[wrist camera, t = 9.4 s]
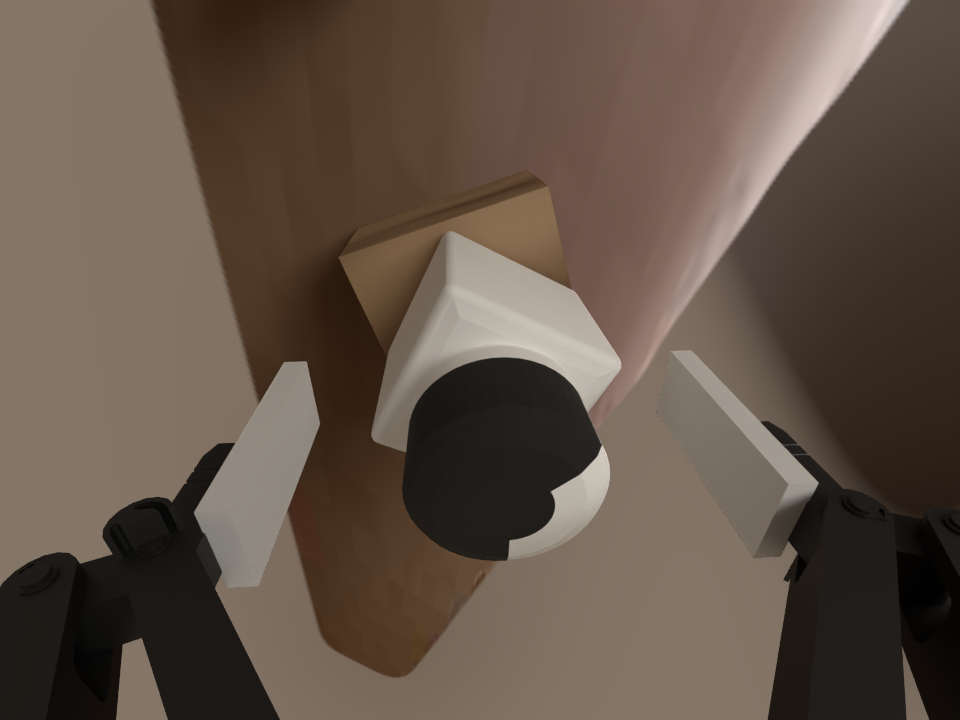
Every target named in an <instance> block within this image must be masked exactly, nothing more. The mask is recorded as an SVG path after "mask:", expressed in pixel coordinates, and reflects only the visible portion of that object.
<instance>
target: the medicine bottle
mask: <svg viewBox="0 0 960 720" xmlns="http://www.w3.org/2000/svg"><path fill="white" fill-rule="evenodd" d="M620 369H621V361H620V359H619V357H618V356H617V354H616V353H615V351H614V350H613V348H612V347H611V345H610V344H609V342H608V341H607V339H606V338H605V336H604V334H603V333H602V331H601V330H600V328H599V327H598V325H597V324H596V322H595V321H594V319H593V318H592V316H591V315H590V313H589V312H588V310H587V309H586V307H585V306H584V304H583V303H582V301H581V300H580V298H579V297H578V295H577V294H576V293H575V292H574V291H573V290H571V289H569V288H567V287H565V286H563V285H561V284H559V283H557V282H555V281H553V280H551V279H549V278H547V277H545V276H543V275H541V274H539V273H537V272H535V271H533V270H530V269H528V268H526V267H524V266H522V265H520V264H518V263H516V262H514V261H512V260H510V259H508V258H506V257H504V256H502V255H500V254H498V253H496V252H494V251H492V250H490V249H488V248H486V247H484V246H482V245H480V244H478V243H476V242H474V241H472V240H470V239H468V238H466V237H464V236H462V235H460V234H457V233H455V232H452V231H448V232H446V233H445V234H444V235H443V236H442V239H441V241H440V243H439V245H438V247H437V249H436V251H435V253H434V256H433V258H432V260H431V262H430V264H429V266H428V268H427V270H426V273H425V275H424V277H423V279H422V281H421V283H420V285H419V287H418V289H417V292H416V294H415V296H414V298H413V300H412V302H411V304H410V306H409V309H408V311H407V313H406V315H405V317H404V319H403V321H402V323H401V326H400V328H399V330H398V332H397V334H396V336H395V338H394V340H393V343H392V345H391V347H390V349H389V353H388V357H387V362H386V367H385V371H384V376H383V381H382V385H381V390H380V395H379V399H378V404H377V409H376V413H375V418H374V423H373V427H372V433H371V435H372V439H373V440H374V441H375V442H377V443H379V444H382V445H385V446H388V447H391V448H394V449H397V450H400V451H403V452H406V458H405V467H404V477H403V486H402V491H403V500H404V503H405V507H406V510H407V512H408V513H409V515H410V517H411V519H412V520H413V522H414V523H415V524H416V526H417V527H418V528H419V529H420V530H421V531H422V532H423V533H424V534H425V535H427V536H428V537H429V538H430V539H431V540H432V541H434V542H435V543H437V544H438V545H439V546H441V547H443V548H445V549H447V550H449V551H451V552H453V553H456V554H459V555H462V556H465V557H469V558H474V559H480V560H491V561H502V560H503V561H504V560H515V559H522V558H527V557H531V556H535V555H538V554H541V553H544V552H547V551H549V550H552V549H554V548H556V547H558V546H560V545H562V544H564V543H565V542H567V541H568V540H570V539H571V538H573V537H574V536H576V535H577V534H578V533H579V532H580V531H582V530H583V529H584V528H585V527H586V525H587V524H588V523H589V522H590V521H591V520H592V518H593V517H594V516H595V514H596V513H597V511H598V509H599V508H600V506H601V504H602V502H603V500H604V498H605V496H606V493H607V490H608V486H609V480H610V465H609V461H608V458H607V454H606V452H605V450H604V448H603V445H602V443H601V441H600V439H599V437H598V434H597V432H596V430H595V428H594V425H593V423H592V421H591V419H590V416H589V414H588V412H589V410H590V409H591V408H592V406H593V405H594V404H595V402H596V401H597V400H598V398H599V397H600V396H601V395H602V393H603V392H604V391H605V389H606V388H607V387H608V385H609V384H610V383H611V381H612V380H613V379H614V377H615V376H616V375H617V373H618V372H619V371H620Z"/></svg>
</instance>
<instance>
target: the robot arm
mask: <svg viewBox="0 0 960 720" xmlns="http://www.w3.org/2000/svg"><path fill="white" fill-rule="evenodd" d="M656 412H657V414H658V415H659V417H660V418H661V420H662V421H663V423H664V424H665V426H666V427H667V429H668V430H669V432H670V433H671V435H672V436H673V438H674V439H675V441H676V442H677V444H678V445H679V447H680V448H681V450H682V451H683V453H684V454H685V456H686V457H687V458H688V460H689V462H690V463H691V465H692V466H693V468H694V469H695V471H696V472H697V474H698V475H699V476H700V478H701V480H702V481H703V483H704V484H705V486H706V487H707V489H708V490H709V492H710V493H711V495H712V496H713V498H714V499H715V501H716V502H717V504H718V505H719V507H720V508H721V510H722V511H723V513H724V514H725V516H726V517H727V519H728V520H729V522H730V523H731V525H732V526H733V528H734V529H735V531H736V532H737V533H738V535H739V537H740V538H741V540H742V541H743V543H744V544H745V546H746V547H747V549H748V550H749V552H750V553H751V555H752V556H753V558H761V557H779V556H781V554H782V553H783V551H784V549H785V547H786V545H787V543H788V541H789V542H790V544H791V545H792V546H793V547H794V549H795V550H796V551H797V553H798V554H797V556H796V558H795V560H794V562H793V563H792V565H791V567H790V569H789V570H788V572H787V574H786V576H785V578H784V580H785V581H787V582H788V581H789V580H790V584H789V591H788V597H787V603H786V609H785V615H784V622H783V628H782V634H781V640H780V647H779V653H778V659H777V666H776V672H775V677H774V684H773V690H772V696H771V703H770V708H769V715H768V720H906V704H905V689H904V688H905V687H904V674H903V673H904V672H903V656H902V647H903V649H904V652H905V655H906V658H907V661H908V663H909V666H910V669H911V671H912V674H913V677H914V679H915V682H916V685H917V688H918V690H919V693H920V696H921V699H922V701H923V704H924V707H925V710H926V712H927V715H928V717H929V720H960V510H957V509H954V508H951V507H944V506H934V507H930V508H929V509H928V511H927V512H926V513H925V515H924V516H923V518H922V519H919V518H914V517H909V516H904V515H899V514H893V513H890V512H889V510H888V509H887V508H886V507H885V506H884V505H883V504H881V503H879V502H878V501H877V500H875V499H874V498H872V497H870V496H868V495H866V494H864V493H861V492H858V491H854V490H850V489H843V488H842V487H841V486H840V485H839V484H838V483H837V482H836V481H835V480H834V479H833V478H832V477H831V476H830V475H829V474H828V473H827V472H826V471H825V470H823V468H821V467H820V465H818V464H817V463H816V462H815V460H814V459H812V458H811V457H810V456H808V455H807V453H806V452H805V451H804V450H803V449H802V448H801V447H800V446H797V443H796V442H795V441H794V440H793V439H792V438H791V437H790V436H789V435H788V434H787V433H786V432H785V431H784V430H782V429H780V428H779V427H777V426H775V425H774V424H772V423H770V422H769V421H764V422H763V421H762V422H760V421H759V420H758V419H757V418H756V417H755V416H754V415H753V414H752V413H751V412H750V411H749V410H748V409H747V408H746V407H745V406H744V405H743V404H742V403H741V402H740V401H739V400H738V399H737V398H736V396H735V395H734V394H733V393H732V392H731V391H730V390H729V389H728V388H727V387H726V386H725V385H724V384H723V383H722V382H721V381H720V380H719V379H718V378H717V377H716V376H715V375H714V374H713V373H712V372H711V370H710V369H709V368H707V366H706V365H705V364H704V363H703V362H702V361H701V360H700V359H699V358H698V357H697V356H696V355H695V354H694V353H693V352H692V351H671V354H670V357H669V361H668V365H667V369H666V374H665V378H664V382H663V386H662V390H661V394H660V398H659V402H658V406H657V410H656ZM319 425H320V421H319V417H318V412H317V407H316V403H315V398H314V394H313V389H312V384H311V380H310V375H309V370H308V366H307V362H284V363H283V365H282V367H281V368H280V370H279V372H278V373H277V375H276V377H275V378H274V380H273V382H272V383H271V385H270V387H269V388H268V390H267V392H266V393H265V395H264V397H263V398H262V400H261V402H260V403H259V405H258V407H257V408H256V410H255V412H254V413H253V415H252V417H251V418H250V420H249V422H248V423H247V425H246V427H245V428H244V430H243V432H242V434H241V435H240V437H239V438H238V440H237V442H236V443H222V444H221V443H220V444H218V445H216V446H215V447H214V448H213V449H211V450H210V451H209V452H207V453H206V454H205V455H204V456H203V457H202V458H201V460H200V461H199V463H198V465H197V466H196V467H195V469H194V472H192V473H191V475H190V476H189V478H188V479H187V483H186V484H184V485H183V487H182V488H181V490H180V491H179V493H178V494H177V496H176V498H175V499H174V500H173V502H171V501H170V500H169V499H166V498H161V497H154V498H146V499H143V500H140V501H137V502H134V503H132V504H130V505H128V506H127V507H125V508H123V509H121V510H120V511H119V512H118V513H116V514H115V515H114V516H113V517H112V518H111V519H110V520H109V521H108V523H107V524H106V526H105V527H104V529H103V539H104V541H105V542H106V544H107V546H108V547H109V548H110V550H111V552H112V555H109V556H106V557H102V558H99V559H95V560H92V561H88V562H85V563H81V564H80V563H79V562H78V561H77V559H76V557H74V556H73V555H71V554H70V553H60V552H58V553H53V554H49V555H44V556H42V557H40V558H38V559H35V560H33V561H31V562H29V563H27V564H26V565H24V566H23V567H21V568H20V569H18V570H17V571H15V572H14V573H13V574H12V575H11V576H10V577H9V578H7V579H6V581H4V582H3V583H2V585H1V587H0V720H116V714H117V702H118V690H119V678H120V668H121V657H122V645H123V644H125V643H128V642H131V641H134V640H137V639H140V638H142V640H143V643H144V646H145V649H146V652H147V655H148V658H149V662H150V665H151V668H152V671H153V674H154V677H155V680H156V683H157V686H158V690H159V693H160V696H161V699H162V702H163V706H164V708H165V712H166V715H167V718H168V720H280V719H279V717H278V715H277V713H276V711H275V709H274V707H273V705H272V703H271V701H270V699H269V697H268V695H267V693H266V691H265V689H264V687H263V685H262V683H261V681H260V679H259V677H258V675H257V673H256V671H255V669H254V667H253V665H252V663H251V660H250V659H249V656H248V654H247V652H246V650H245V649H244V646H243V644H242V642H241V640H240V638H239V636H238V634H237V632H236V630H235V628H234V626H233V624H232V622H231V620H230V618H229V616H228V614H227V612H226V611H225V608H224V606H223V604H222V602H221V600H220V598H219V596H218V594H217V592H216V590H215V586H216V584H217V582H218V580H219V578H220V576H221V574H222V577H223V579H224V581H225V583H226V586H227V588H238V587H255V586H259V584H260V581H261V578H262V576H263V573H264V571H265V568H266V565H267V563H268V560H269V557H270V555H271V552H272V549H273V547H274V544H275V542H276V539H277V536H278V534H279V531H280V528H281V526H282V523H283V520H284V518H285V515H286V513H287V510H288V507H289V505H290V502H291V499H292V497H293V494H294V491H295V489H296V486H297V484H298V481H299V478H300V476H301V473H302V470H303V468H304V465H305V462H306V460H307V457H308V455H309V452H310V449H311V447H312V444H313V441H314V439H315V436H316V433H317V431H318V428H319Z"/></svg>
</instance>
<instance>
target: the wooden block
mask: <svg viewBox="0 0 960 720" xmlns="http://www.w3.org/2000/svg"><path fill="white" fill-rule="evenodd" d="M448 231H452V232H455V233H457V234H460V235H462V236H464V237H466V238H468V239H470V240H472V241H474V242H476V243H478V244H480V245H482V246H484V247H486V248H488V249H490V250H492V251H494V252H496V253H498V254H500V255H502V256H504V257H506V258H508V259H510V260H512V261H514V262H516V263H518V264H520V265H522V266H524V267H526V268H528V269H530V270H533V271H535V272H537V273H539V274H541V275H543V276H545V277H547V278H549V279H551V280H553V281H555V282H557V283H559V284H561V285H563V286H565V287H567V288H569V289H571V285H570V280H569V276H568V271H567V267H566V262H565V258H564V254H563V249H562V245H561V240H560V236H559V231H558V227H557V222H556V218H555V213H554V209H553V204H552V200H551V195H550V191H549V187H548V185H546V184H545V183H544V182H542V181H541V180H540V179H538V178H537V177H536V176H534V175H533V174H532V173H530V172H529V171H528V170H526V171H523V172H520V173H517V174H514V175H511V176H508V177H505V178H502V179H500V180H497V181H494V182H491V183H488V184H485V185H482V186H479V187H476V188H473V189H471V190H468V191H465V192H462V193H459V194H456V195H453V196H450V197H447V198H444V199H441V200H439V201H436V202H433V203H430V204H427V205H424V206H421V207H418V208H415V209H412V210H409V211H407V212H404V213H401V214H398V215H395V216H392V217H389V218H386V219H383V220H380V221H378V222H375V223H372V224H369V225H366V226H363V227H360V228H358V229H357V231H356V232H355V233H354V235H353V236H352V238H351V239H350V241H349V242H348V244H347V245H346V247H345V248H344V250H343V251H342V253H341V254H340V256H339V257H338V258H339V260H340V262H341V264H342V266H343V268H344V270H345V272H346V274H347V276H348V279H349V281H350V283H351V285H352V287H353V289H354V291H355V293H356V295H357V297H358V299H359V301H360V303H361V305H362V308H363V310H364V312H365V314H366V316H367V318H368V320H369V322H370V324H371V326H372V328H373V330H374V332H375V335H376V337H377V339H378V341H379V343H380V345H381V347H382V349H383V351H384V353H385V355H386V357H388V353H389V349H390V347H391V345H392V343H393V340H394V338H395V336H396V334H397V332H398V330H399V328H400V326H401V323H402V321H403V319H404V317H405V315H406V313H407V311H408V309H409V306H410V304H411V302H412V300H413V298H414V296H415V294H416V292H417V289H418V287H419V285H420V283H421V281H422V279H423V277H424V275H425V273H426V270H427V268H428V266H429V264H430V262H431V260H432V258H433V256H434V253H435V251H436V249H437V247H438V245H439V243H440V241H441V239H442V236H443V235H444V234H445V233H446V232H448ZM571 290H572V289H571Z"/></svg>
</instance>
